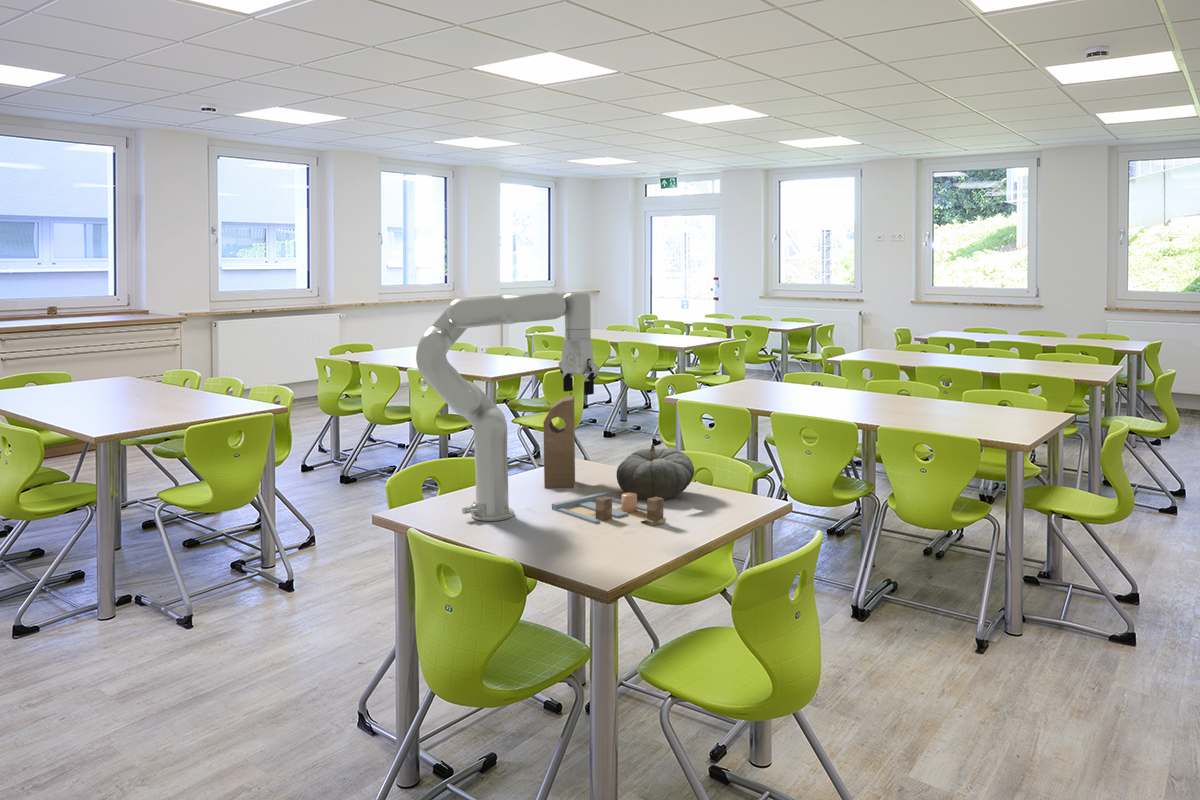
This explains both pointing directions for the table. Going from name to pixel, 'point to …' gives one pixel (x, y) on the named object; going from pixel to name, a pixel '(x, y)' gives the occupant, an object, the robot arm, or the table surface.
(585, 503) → the lane frame
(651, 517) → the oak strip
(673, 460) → the gourd
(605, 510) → the brown wooden block
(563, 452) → the decorative block
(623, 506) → the peach rounded cylinder
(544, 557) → the table surface
